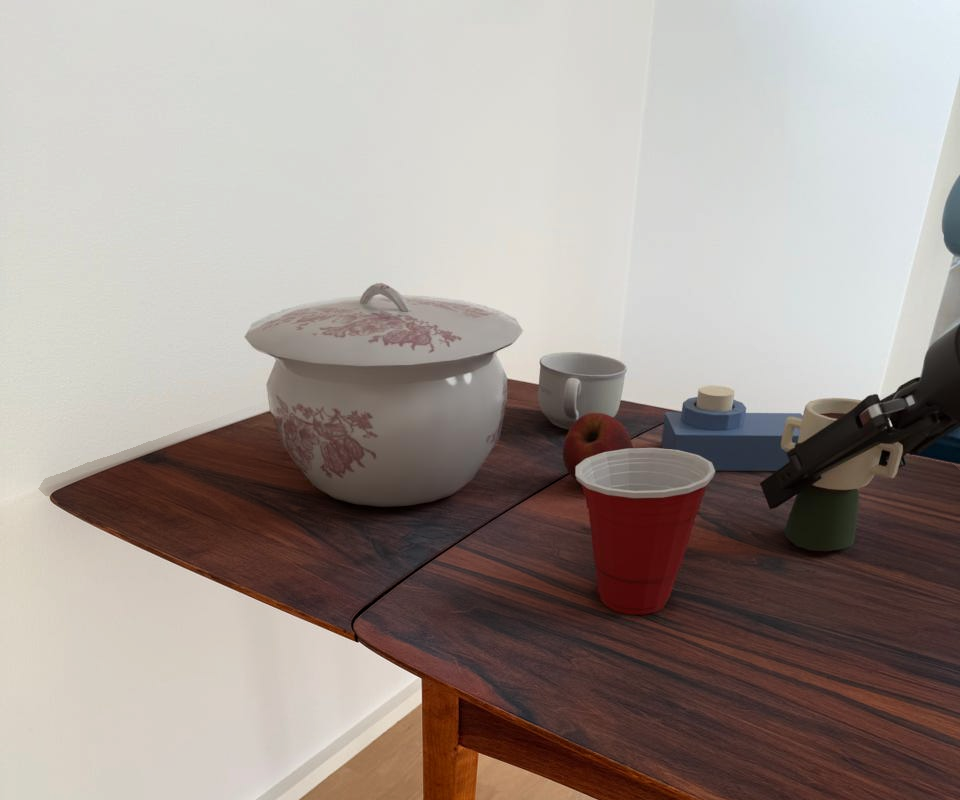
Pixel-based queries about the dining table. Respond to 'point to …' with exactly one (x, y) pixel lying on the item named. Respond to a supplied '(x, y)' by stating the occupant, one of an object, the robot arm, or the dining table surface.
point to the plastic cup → (641, 521)
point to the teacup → (579, 386)
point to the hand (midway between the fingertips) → (800, 488)
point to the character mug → (832, 482)
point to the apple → (593, 439)
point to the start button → (715, 398)
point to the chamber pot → (387, 392)
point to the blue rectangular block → (729, 436)
